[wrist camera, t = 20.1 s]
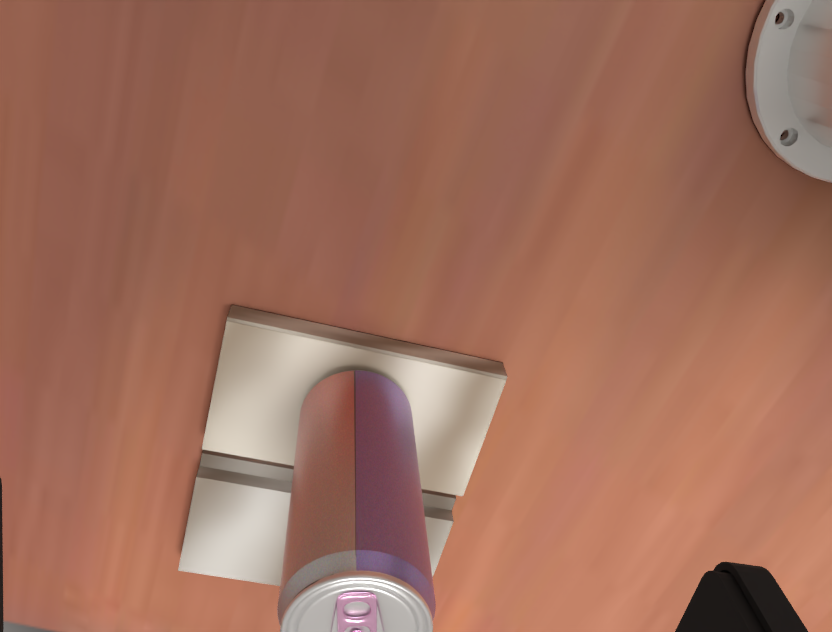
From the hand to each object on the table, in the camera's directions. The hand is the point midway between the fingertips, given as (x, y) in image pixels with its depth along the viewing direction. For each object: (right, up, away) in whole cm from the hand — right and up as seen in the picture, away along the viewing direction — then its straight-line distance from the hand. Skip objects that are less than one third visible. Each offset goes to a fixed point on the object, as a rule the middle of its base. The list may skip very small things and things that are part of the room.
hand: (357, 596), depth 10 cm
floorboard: (-5, -9, +37) cm, 38 cm away
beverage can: (-3, -1, +32) cm, 32 cm away
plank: (-3, -1, +33) cm, 33 cm away
